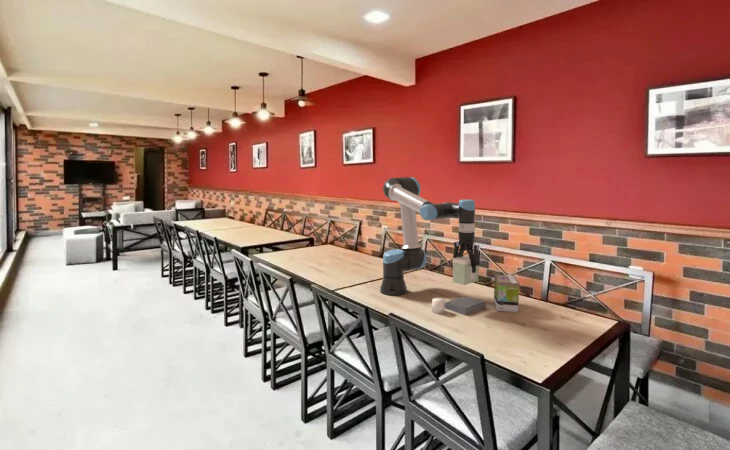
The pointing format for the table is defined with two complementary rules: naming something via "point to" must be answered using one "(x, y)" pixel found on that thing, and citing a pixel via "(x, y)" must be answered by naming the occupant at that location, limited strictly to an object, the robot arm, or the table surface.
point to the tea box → (506, 293)
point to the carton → (463, 270)
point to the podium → (465, 305)
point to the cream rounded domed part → (438, 305)
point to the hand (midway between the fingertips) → (465, 277)
